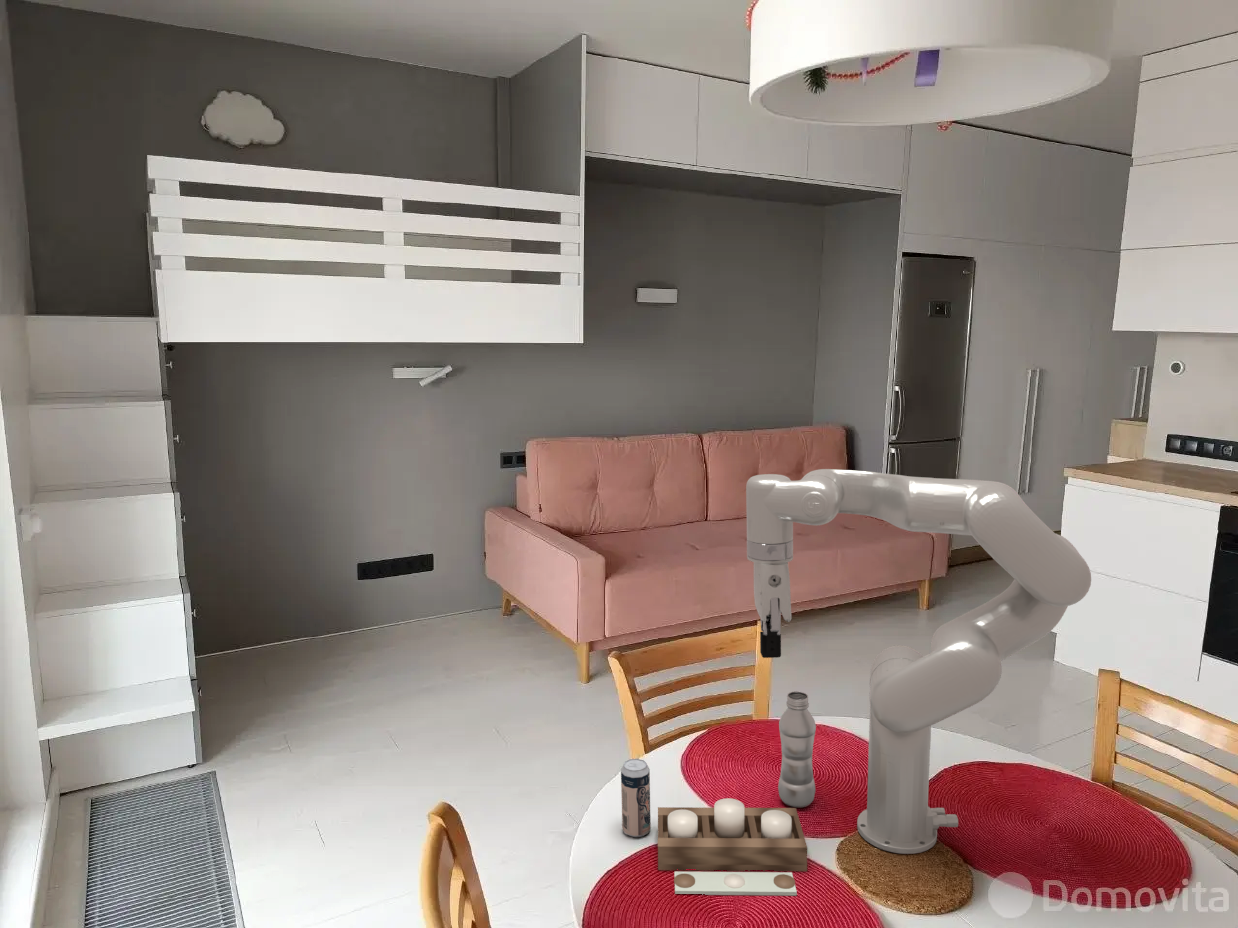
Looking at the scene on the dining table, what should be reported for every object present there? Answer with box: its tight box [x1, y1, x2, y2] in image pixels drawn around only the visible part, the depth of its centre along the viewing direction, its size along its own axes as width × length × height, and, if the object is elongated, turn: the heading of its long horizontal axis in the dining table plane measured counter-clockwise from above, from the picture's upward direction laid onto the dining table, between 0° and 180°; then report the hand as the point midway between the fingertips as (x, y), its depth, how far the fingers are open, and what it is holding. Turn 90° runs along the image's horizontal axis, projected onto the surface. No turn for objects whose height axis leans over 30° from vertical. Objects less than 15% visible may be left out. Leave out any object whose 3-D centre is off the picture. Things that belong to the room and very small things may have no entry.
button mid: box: [713, 797, 745, 838], centre depth 137 cm, size 5×5×4 cm
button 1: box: [668, 809, 698, 838], centre depth 138 cm, size 5×5×4 cm
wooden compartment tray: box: [657, 806, 808, 872], centre depth 138 cm, size 23×11×4 cm, turn 87°
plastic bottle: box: [777, 690, 817, 809], centre depth 150 cm, size 6×7×20 cm
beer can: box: [620, 758, 652, 838], centre depth 143 cm, size 5×5×12 cm
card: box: [673, 870, 798, 897], centre depth 129 cm, size 18×5×1 cm, turn 87°
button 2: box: [761, 810, 792, 839], centre depth 137 cm, size 5×5×4 cm
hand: (770, 655), depth 143 cm, fingers closed
